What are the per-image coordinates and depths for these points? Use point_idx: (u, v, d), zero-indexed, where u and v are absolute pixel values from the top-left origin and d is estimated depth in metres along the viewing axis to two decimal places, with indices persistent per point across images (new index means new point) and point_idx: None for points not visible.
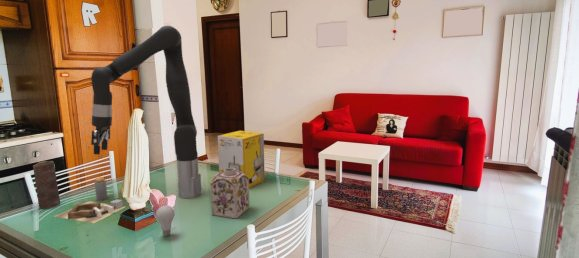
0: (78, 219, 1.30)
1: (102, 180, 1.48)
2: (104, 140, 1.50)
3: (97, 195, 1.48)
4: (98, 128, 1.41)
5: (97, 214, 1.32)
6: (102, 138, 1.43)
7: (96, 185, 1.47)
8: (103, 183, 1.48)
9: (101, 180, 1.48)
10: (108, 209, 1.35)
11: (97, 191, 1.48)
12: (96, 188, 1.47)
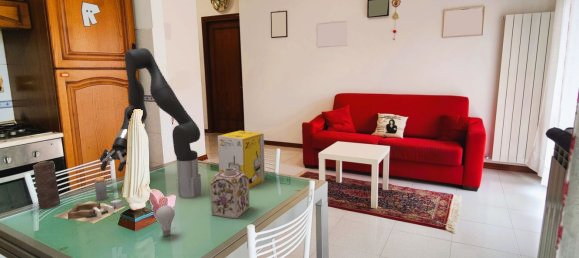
0: (78, 219, 1.30)
1: (102, 180, 1.48)
2: None
3: (97, 195, 1.48)
4: None
5: (97, 214, 1.32)
6: (107, 155, 1.59)
7: (96, 185, 1.47)
8: (103, 183, 1.48)
9: (101, 180, 1.48)
10: (108, 209, 1.35)
11: (97, 191, 1.48)
12: (96, 188, 1.47)
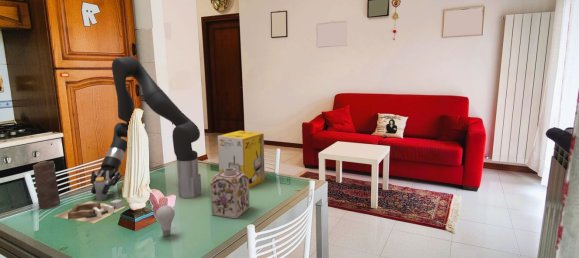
0: (78, 219, 1.30)
1: (102, 180, 1.48)
2: None
3: (97, 195, 1.48)
4: None
5: (97, 214, 1.32)
6: (97, 177, 1.51)
7: (96, 185, 1.47)
8: (103, 183, 1.48)
9: (101, 180, 1.48)
10: (108, 209, 1.35)
11: (97, 191, 1.48)
12: (96, 188, 1.47)
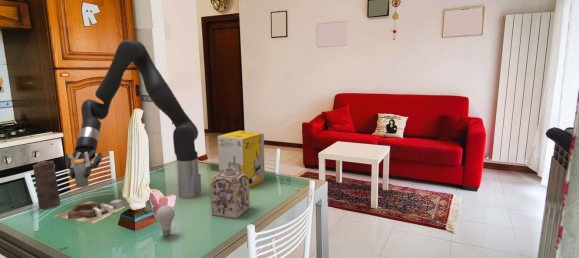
0: (78, 219, 1.30)
1: (83, 162, 1.33)
2: None
3: (78, 179, 1.32)
4: None
5: (97, 214, 1.32)
6: (74, 159, 1.34)
7: (76, 168, 1.31)
8: (84, 164, 1.33)
9: (82, 162, 1.32)
10: (108, 209, 1.35)
11: (78, 174, 1.32)
12: (76, 171, 1.31)
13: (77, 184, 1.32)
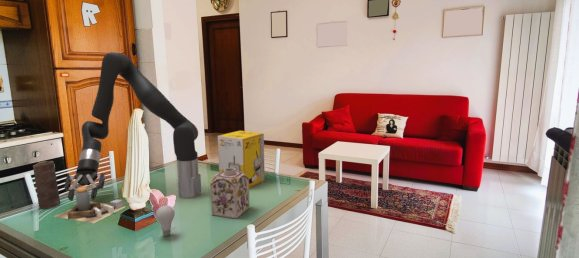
0: (78, 219, 1.30)
1: (85, 190, 1.34)
2: None
3: (80, 207, 1.33)
4: None
5: (97, 214, 1.32)
6: (74, 182, 1.35)
7: (79, 196, 1.32)
8: (87, 192, 1.33)
9: (84, 190, 1.33)
10: (108, 209, 1.35)
11: (81, 202, 1.32)
12: (79, 199, 1.32)
13: None
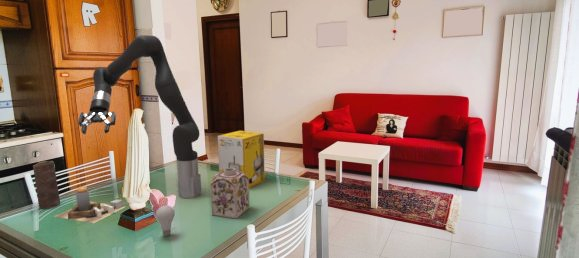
0: (78, 219, 1.30)
1: (85, 190, 1.34)
2: None
3: (80, 207, 1.33)
4: None
5: (97, 214, 1.32)
6: (87, 118, 1.47)
7: (79, 196, 1.32)
8: (87, 192, 1.34)
9: (85, 190, 1.33)
10: (108, 209, 1.35)
11: (81, 202, 1.33)
12: (79, 199, 1.32)
13: None
